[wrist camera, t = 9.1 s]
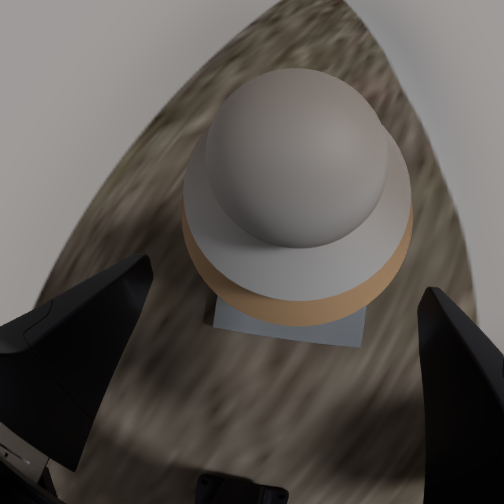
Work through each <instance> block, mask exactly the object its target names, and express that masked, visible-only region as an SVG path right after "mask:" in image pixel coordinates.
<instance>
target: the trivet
mask: <svg viewBox="0 0 504 504" xmlns="http://www.w3.org/2000/svg"><path fill="white" fill-rule="evenodd" d="M366 308H367V305H366V306H364V307H363V308H361V309H359V310H358V311H356V312H355V313H353V314H350V315H348V316H346V317H344V318H341V319H339V320H336V321H332V322H329V323H325V324H320V325H312V326H284V325H278V324H272V323H268V322H265V321H262V320H258V319H255V318H253V317H251V316H249V315H246V314H244V313H242V312H240V311H239V310H237V309H235V308H234V307H232V306H231V305H229V304H228V303H226V302H225V301H224V300H223V299H222V298H220V297H219V296H217V302H216V309H215V316H214V322H213V327H215V328H220V329H225V330H231V331H237V332H242V333H248V334H255V335H261V336H267V337H274V338H281V339H288V340H295V341H303V342H311V343H319V344H328V345H337V346H347V347H358V348H360V347H361V341H362V335H363V329H364V322H365V315H366Z"/></svg>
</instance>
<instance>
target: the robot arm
mask: <svg viewBox="0 0 504 504" xmlns="http://www.w3.org/2000/svg"><path fill="white" fill-rule="evenodd" d="M152 281H153V271H152V267H151V263H150V259H149V257H148V255H146V254H140V253H136V254H134V255H132V256H130V257H128V258H126V259H124V260H122V261H120V262H118V263H117V264H115V265H113V266H111V267H109V268H107V269H105V270H103V271H102V272H100V273H98V274H96V275H94V276H92V277H90V278H89V279H87V280H85V281H83V282H81V283H80V284H78V285H76V286H74V287H72V288H71V289H69V290H67V291H65V292H63V293H62V294H60V295H58V296H56V297H55V298H54V299H51V300H49V301H48V302H46V303H44V304H42V305H41V306H39V307H37V308H35V309H33V310H32V311H30V312H28V313H26V314H24V315H22V316H20V317H18V318H16V319H14V320H12V321H10V322H8V323H6V324H4V325H2V326H0V504H66V503H65V502H63V501H61V500H60V499H58V498H57V497H58V496H57V494H56V491H55V488H54V485H53V482H52V479H51V476H50V473H49V469H48V468H47V467H46V465H47V463H48V461H49V459H50V458H51V459H52V460H54V461H56V462H57V463H59V464H60V465H62V466H64V467H66V468H67V469H69V470H71V471H73V472H75V471H76V468H77V466H78V463H79V460H80V457H81V454H82V452H83V449H84V446H85V443H86V441H87V438H88V435H89V433H90V430H91V428H92V425H93V422H94V419H95V417H96V414H97V412H98V409H99V407H100V404H101V402H102V400H103V397H104V395H105V392H106V390H107V388H108V385H109V383H110V380H111V378H112V376H113V374H114V371H115V369H116V367H117V364H118V362H119V360H120V358H121V355H122V353H123V351H124V349H125V347H126V345H127V342H128V340H129V338H130V336H131V334H132V332H133V330H134V327H135V325H136V323H137V321H138V319H139V316H140V314H141V311H142V308H143V306H144V303H145V300H146V297H147V295H148V292H149V289H150V286H151V284H152ZM417 316H418V334H419V356H420V365H421V374H422V384H423V395H424V410H425V435H426V465H425V472H426V473H425V486H424V500H423V504H504V355H503V354H502V353H501V352H500V350H499V349H498V348H497V347H496V346H495V345H494V344H493V343H492V341H491V340H490V339H489V338H488V337H487V336H486V335H485V334H484V333H483V332H482V331H481V329H480V328H479V327H478V326H477V325H476V324H475V323H474V322H473V321H472V320H471V319H470V318H469V317H468V316H467V315H466V314H465V313H464V312H463V311H462V310H461V309H460V308H459V307H458V306H457V305H456V304H455V303H454V302H453V301H452V300H451V299H450V298H449V297H448V296H447V295H446V294H445V293H444V292H443V291H442V290H441V289H440V288H438V287H427V288H426V290H425V292H424V294H423V296H422V299H421V301H420V303H419V305H418V310H417ZM203 479H205V480H207V481H208V482H205V481H203ZM280 494H283V495H284V496H279V495H280ZM288 498H289V492H288V491H287V490H285V489H279V488H272V487H265V486H260V485H255V484H249V483H244V482H239V481H234V480H229V479H223V478H219V477H214V476H210V475H206V474H203V475H200V477H199V478H198V481H197V490H196V499H195V504H287V501H288Z"/></svg>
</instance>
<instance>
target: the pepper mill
mask: <svg viewBox="0 0 504 504" xmlns="http://www.w3.org/2000/svg"><path fill="white" fill-rule="evenodd" d="M181 216H182V229H183V235H184V240H185V243H186V246H187V249H188V252H189V255H190V257H191V259H192V261H193V263H194V265H195V268H196V269H197V271H198V272H199V274H200V275H201V277H202V278H203V280H204V281H205V282H206V283H207V285H208V286H209V287H210V288H211V289H212V290H213V291H214V292H215V293H216V294H217V295H218V296H219V297H220V298H222V299H223V300H224V301H225V302H226V303H228V304H229V305H231V306H232V307H234V308H235V309H237V310H239V311H240V312H242V313H244V314H246V315H249V316H251V317H253V318H255V319H258V320H262V321H265V322H268V323H272V324H278V325H284V326H312V325H320V324H325V323H329V322H332V321H336V320H339V319H341V318H344V317H346V316H348V315H350V314H353V313H355V312H356V311H358V310H359V309H361V308H363V307H364V306H366V305H368V304H369V303H370V302H371V301H372V300H374V299H375V298H376V297H377V296H378V295H379V294H380V293H381V292H382V291H383V290H384V289H385V288H386V287H387V286H388V285H389V283H390V282H391V281H392V279H393V278H394V276H395V275H396V273H397V272H398V270H399V268H400V266H401V264H402V262H403V260H404V258H405V256H406V253H407V250H408V246H409V243H410V239H411V233H412V226H413V208H412V199H411V186H410V180H409V174H408V170H407V167H406V164H405V161H404V158H403V156H402V154H401V152H400V149H399V148H398V146H397V144H396V143H395V141H394V139H393V138H392V136H391V135H390V134H389V133H388V131H387V130H386V129H385V128H384V127H383V126H382V125H381V123H380V121H379V119H378V117H377V115H376V113H375V112H374V110H373V109H372V107H371V106H370V105H369V103H368V102H367V101H366V100H365V99H364V98H363V97H362V96H361V95H360V94H359V93H358V92H357V91H356V90H355V89H354V88H352V87H351V86H349V85H348V84H346V83H345V82H343V81H341V80H339V79H337V78H335V77H333V76H331V75H328V74H326V73H323V72H319V71H315V70H310V69H301V68H288V69H280V70H275V71H271V72H268V73H265V74H262V75H260V76H257V77H255V78H253V79H251V80H249V81H248V82H246V83H244V84H243V85H241V86H240V87H239V88H238V89H236V90H235V91H234V92H233V93H232V94H231V95H230V96H229V97H228V98H227V99H226V101H225V102H224V103H223V104H222V106H221V107H220V108H219V110H218V112H217V114H216V115H215V117H214V120H213V122H212V124H211V125H210V126H209V127H208V128H207V129H206V131H205V132H204V134H203V135H202V136H201V138H200V139H199V141H198V142H197V144H196V146H195V148H194V150H193V152H192V154H191V157H190V159H189V162H188V165H187V169H186V173H185V179H184V188H183V199H182V210H181Z"/></svg>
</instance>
